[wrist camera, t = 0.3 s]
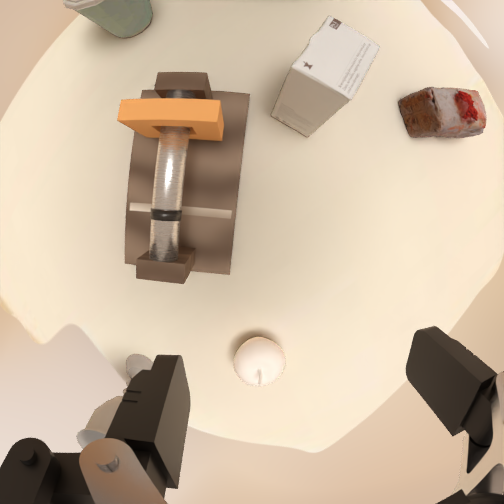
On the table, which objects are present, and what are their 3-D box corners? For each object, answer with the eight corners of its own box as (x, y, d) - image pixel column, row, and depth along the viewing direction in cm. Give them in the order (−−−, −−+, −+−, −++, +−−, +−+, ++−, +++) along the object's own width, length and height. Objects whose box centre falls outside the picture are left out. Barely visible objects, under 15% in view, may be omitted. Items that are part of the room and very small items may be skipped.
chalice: (142, 342, 38) (99, 424, 21) (170, 373, 40) (144, 461, 22) (112, 359, 39) (66, 434, 21) (139, 388, 40) (107, 468, 23)
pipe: (172, 82, 25) (166, 71, 22) (201, 83, 26) (197, 72, 22) (152, 270, 30) (144, 279, 26) (180, 273, 30) (174, 283, 27)
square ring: (149, 121, 29) (121, 99, 20) (224, 124, 29) (220, 100, 21) (146, 137, 29) (117, 120, 20) (222, 141, 30) (217, 122, 21)
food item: (449, 94, 33) (486, 82, 23) (462, 137, 34) (502, 132, 25) (393, 97, 33) (431, 78, 23) (410, 147, 34) (452, 139, 25)
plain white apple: (224, 354, 39) (222, 387, 32) (251, 319, 38) (256, 349, 31) (262, 374, 41) (267, 408, 33) (290, 342, 40) (302, 373, 32)
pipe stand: (145, 93, 31) (120, 67, 22) (249, 97, 32) (254, 68, 23) (128, 260, 36) (98, 282, 26) (229, 271, 37) (228, 298, 27)
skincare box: (307, 138, 34) (353, 107, 19) (267, 115, 33) (288, 68, 18) (334, 92, 32) (385, 47, 18) (296, 69, 31) (329, 11, 17)
